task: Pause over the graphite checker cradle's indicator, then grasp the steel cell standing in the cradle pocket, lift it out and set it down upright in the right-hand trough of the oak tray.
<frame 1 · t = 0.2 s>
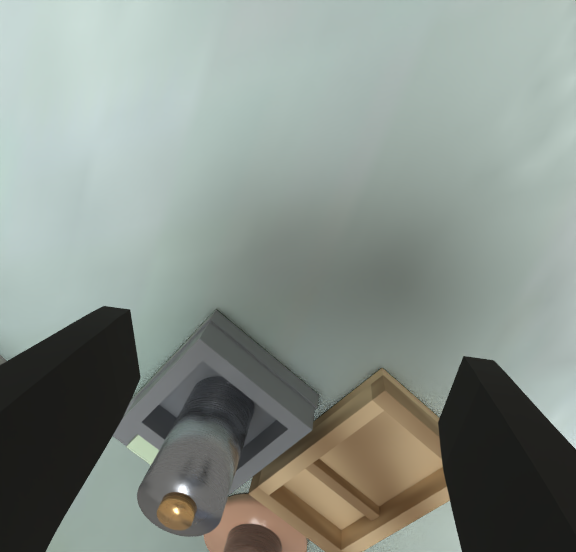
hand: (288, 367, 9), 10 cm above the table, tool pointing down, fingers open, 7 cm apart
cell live: (222, 403, 22), point 1 cm above the table, touching cradle
tray: (359, 459, 23), on the table
dish: (257, 531, 26), on the table
cradle: (227, 391, 23), on the table
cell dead: (254, 543, 26), point 1 cm above the table, touching dish
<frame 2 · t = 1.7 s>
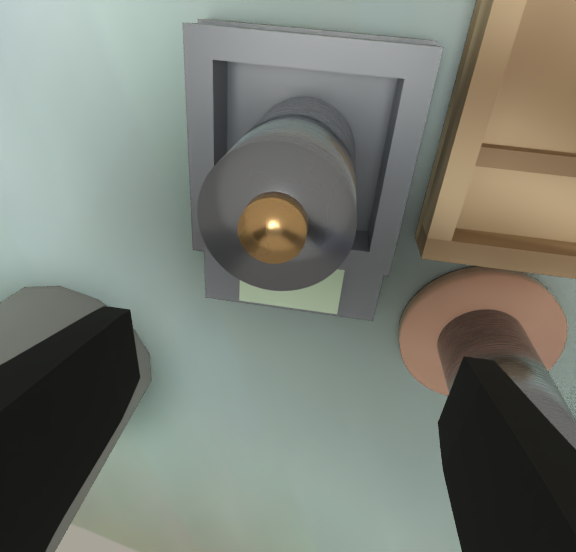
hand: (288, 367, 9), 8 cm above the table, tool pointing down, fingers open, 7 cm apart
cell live: (303, 151, 14), point 1 cm above the table, touching cradle
cup: (76, 350, 22), on the table
tray: (564, 108, 13), on the table
dish: (475, 331, 18), on the table
cradle: (306, 144, 15), on the table
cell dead: (480, 343, 17), point 1 cm above the table, touching dish
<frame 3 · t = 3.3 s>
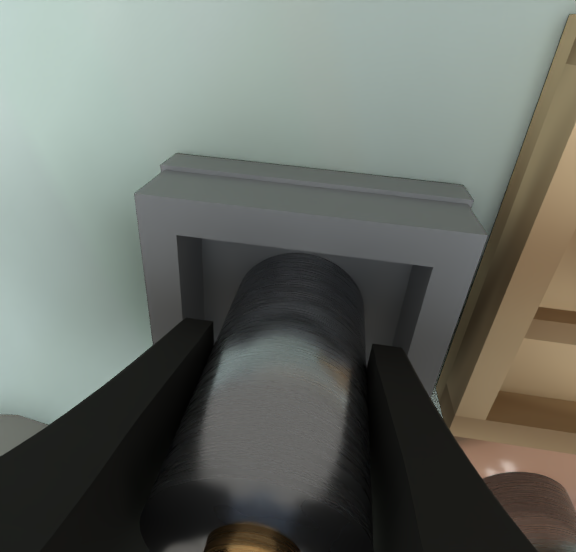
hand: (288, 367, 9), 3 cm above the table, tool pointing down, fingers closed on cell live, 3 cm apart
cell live: (299, 309, 11), point 1 cm above the table, touching cradle, gripper
cup: (41, 473, 19), on the table
dish: (506, 481, 15), on the table
cradle: (302, 289, 12), on the table
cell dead: (513, 502, 14), point 1 cm above the table, touching dish
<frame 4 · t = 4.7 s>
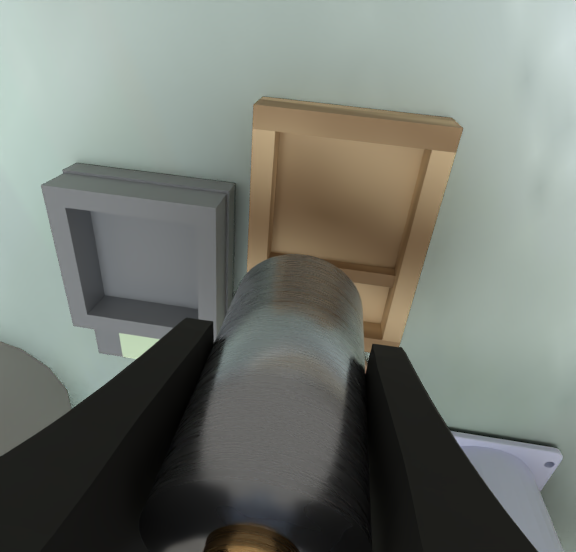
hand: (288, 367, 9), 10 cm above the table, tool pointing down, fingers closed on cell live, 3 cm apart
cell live: (297, 310, 11), point 8 cm above the table, touching gripper
cup: (9, 386, 27), on the table
tray: (336, 229, 18), on the table
cradle: (160, 245, 20), on the table
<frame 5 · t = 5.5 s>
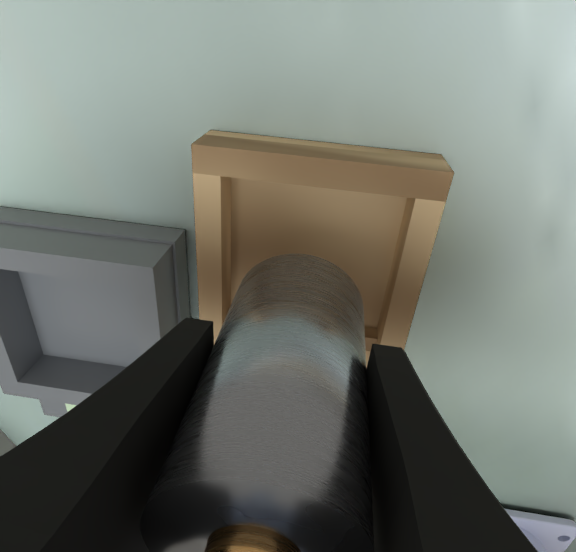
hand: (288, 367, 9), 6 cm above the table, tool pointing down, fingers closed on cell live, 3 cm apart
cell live: (298, 310, 11), point 4 cm above the table, touching gripper
tray: (307, 282, 15), on the table
cradle: (105, 298, 17), on the table
when the fingers open (4 cm above the table, at t = 6.3 s): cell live drops 1 cm, resting on tray.
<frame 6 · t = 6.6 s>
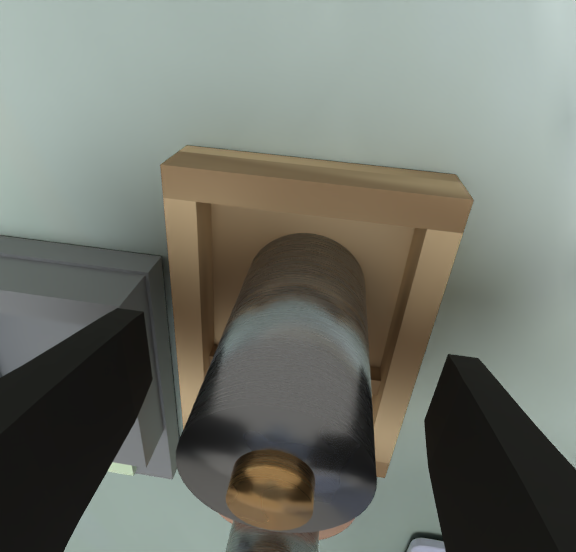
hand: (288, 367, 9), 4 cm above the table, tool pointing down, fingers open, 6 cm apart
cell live: (305, 286, 12), point 1 cm above the table, touching tray
tray: (301, 314, 13), on the table
cradle: (75, 329, 15), on the table
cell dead: (280, 499, 17), point 1 cm above the table, touching dish
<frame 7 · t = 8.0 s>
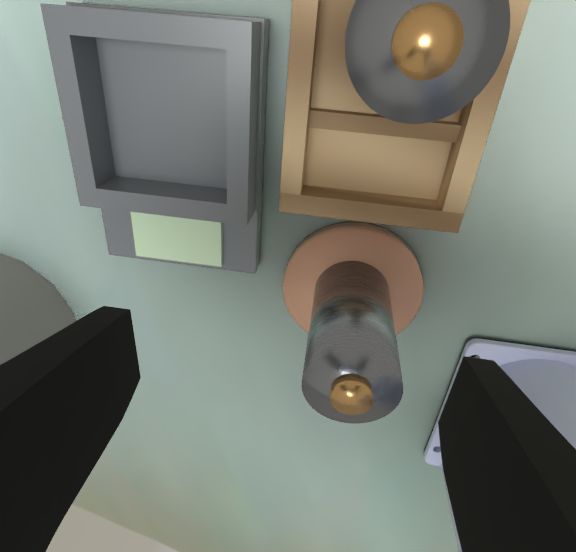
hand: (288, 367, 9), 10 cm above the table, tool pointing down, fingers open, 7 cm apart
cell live: (400, 31, 14), point 1 cm above the table, touching tray
cup: (9, 311, 24), on the table
tray: (388, 77, 15), on the table
dish: (351, 283, 20), on the table
cradle: (179, 112, 17), on the table
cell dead: (351, 293, 19), point 1 cm above the table, touching dish
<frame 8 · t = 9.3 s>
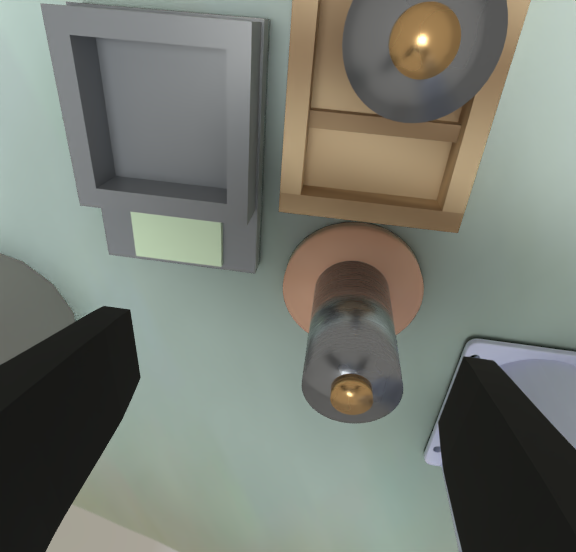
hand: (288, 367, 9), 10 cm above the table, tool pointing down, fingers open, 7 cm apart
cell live: (400, 31, 14), point 1 cm above the table, touching tray
cup: (9, 311, 24), on the table
tray: (388, 77, 15), on the table
dish: (351, 283, 20), on the table
cradle: (180, 112, 17), on the table
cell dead: (351, 293, 19), point 1 cm above the table, touching dish
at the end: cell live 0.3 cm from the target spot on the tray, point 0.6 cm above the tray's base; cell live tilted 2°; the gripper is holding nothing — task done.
